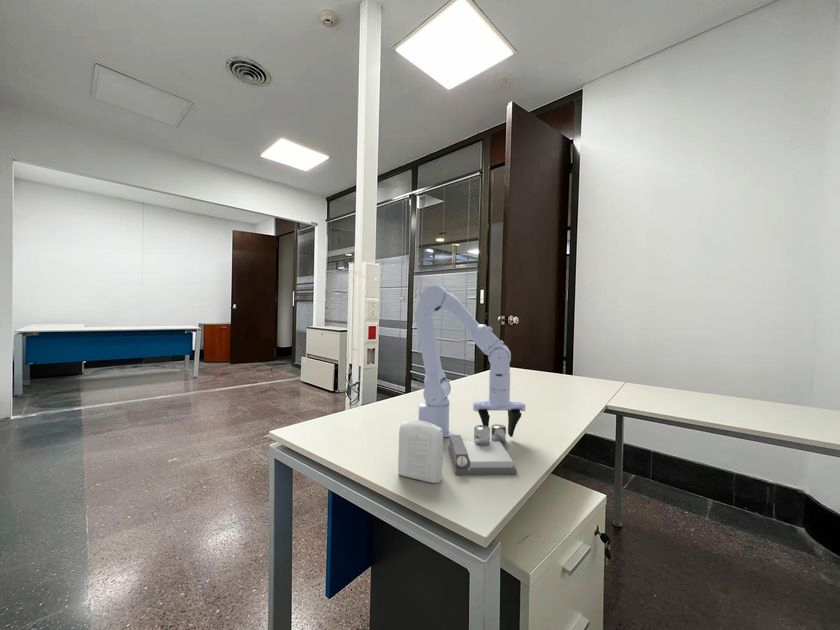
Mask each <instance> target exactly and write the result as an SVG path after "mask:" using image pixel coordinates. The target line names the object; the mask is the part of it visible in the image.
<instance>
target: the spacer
mask: <svg viewBox="0 0 840 630" xmlns="http://www.w3.org/2000/svg"><path fill="white" fill-rule="evenodd" d="M490 427H491V428H490V441H500V442H501V444H502V445H503V444H504V443H506V440H507V439H506V438H507V427H506V426H505V425H503V424H498V423H497V424H496V423H493V424H491V426H490Z"/></svg>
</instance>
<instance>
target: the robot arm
mask: <svg viewBox="0 0 840 630" xmlns="http://www.w3.org/2000/svg"><path fill="white" fill-rule="evenodd" d="M441 309H444V310H445V311H449V312H452V314H454V315H455V316H456V317H457V319H459V321H460V322H461V323H462V324H463V325H464V326H465V327H466V328H467V329H468V330H469V331H470V339H471V340H472V341H473V343H474V344H475V345H476V346H477V347H478V349H480V350H481V352H482V353H483V354H484V355H485V356H488V357H487V358H488V362H489V365H490V371H489V377H488V383H489V384H488V400H487V401H479V402H477V401H476V402H472V409H473V411H474V412H477V413H478V415H479V417H480V420H481V425H485V426H488V427H489V425H490V424H489V423H490V418H491V417H490V414H489V411H507V418H508V419H507V420H508V423H507V424H508V425H507V434H508V436H509V437H510V438H513V436H514V433H515V429H516V427H517V424H518V423H519V421H520V419H521V417H522V412H526V404H525V403H524V402H517V401H510V399H511V396H510V395H511V372H510V371H511V366H510V363H511V361H512V359H511V358H512V353H511V351H510V349H509V347H508V346H507V345H505V342H504V341H503V340H502V339H501V340H500V339H499V338H498V337H497V336H496V334H494V332H493V328H492V327H491V326H487V324H483V323H482V324H481V323H479V322H478V321H477V320H476V319H475V318H474V316H473V315H472V314H471V313H470V312H469V310H468V309H467V308H466V306H464V304H463V303H462V302H461V300H460V299H458V298H457V296H456V295H454V294H453V293H452V292H450V291H449V289H448V288H447V287H446V286H443V285H437V284H433V283H432V284H429V285H427V286H426V287H425V288H424V289H423V290H422V292H421V293H420V294H419V300H418V304H417V306H416V309H415V311H414V319H415V325H416V329H417V335H418V340H419V345H420V351H421V356H422V361H423V366H424V371H425V373H424V379H423V382H424V390H423V399H424V402H419V403H418V419H417V421H424V422H429V423H432V424H434V425H436V426H438V427H440V428H442V430H443V438H450V435H453V434H452V432H451V429H450V400H449V398H448V396H449V394H451V390H452V387H451V383H450V382H449V381H448V379H447V376H446V373H445V371H444V370H443V367H442V362H441V361H442V360H441V357H440V351H439V345H438V341H437V340H438V339H437V335H436V334H437V333H436V330H435V326H434V319H433V318H434V317H435V316H436V314H437V313H438V311H439V310H441ZM489 428H490V427H489Z"/></svg>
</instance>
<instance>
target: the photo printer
mask: <svg viewBox="0 0 840 630" xmlns="http://www.w3.org/2000/svg"><path fill="white" fill-rule="evenodd" d="M443 454H444V437H443V430H442V428H440V427H438V426H436V425H434V424H432V423H429V422H424V421H418V420H406V421H403V422H402V423H401V424H400V426H399V432H398V458H397V460H398V462H397V463H398V465H397V466H398V467H397V468H398V469H397V473H398V475H400V476H403V477H406V478H411V479H415V480H419V481H421V482H422V481H423V482H427V483H432V484H438V483H441V482H442V480H443V462H444V461H443V457H444V455H443Z"/></svg>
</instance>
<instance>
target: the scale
mask: <svg viewBox="0 0 840 630" xmlns="http://www.w3.org/2000/svg"><path fill="white" fill-rule="evenodd" d="M447 446H448V447H447V448H448V449H447V450H448V453H449V456H450V459H451V463H452V467H453V470H454V474H455V475H456V476H457V475H461V476H462V475H463V476H464V475H469V476H470V475H471V476H472V475H473V476H474V475H475V476H476V475H517V471H518V470H517V468H516V467H515V465H514V461H513V459H512V457H511V455H509V452H508V451H507V450H506V448H505V446H504V445H503V443H502V444H501V442H500V441H491V440H490V444H489V445H488V446H478V445H476V444H475V443H474V440H473V441H472V440H471V441H469V440H467V441H463V438H462V436H461V434H452V435H450V437H449V445H447Z"/></svg>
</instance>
